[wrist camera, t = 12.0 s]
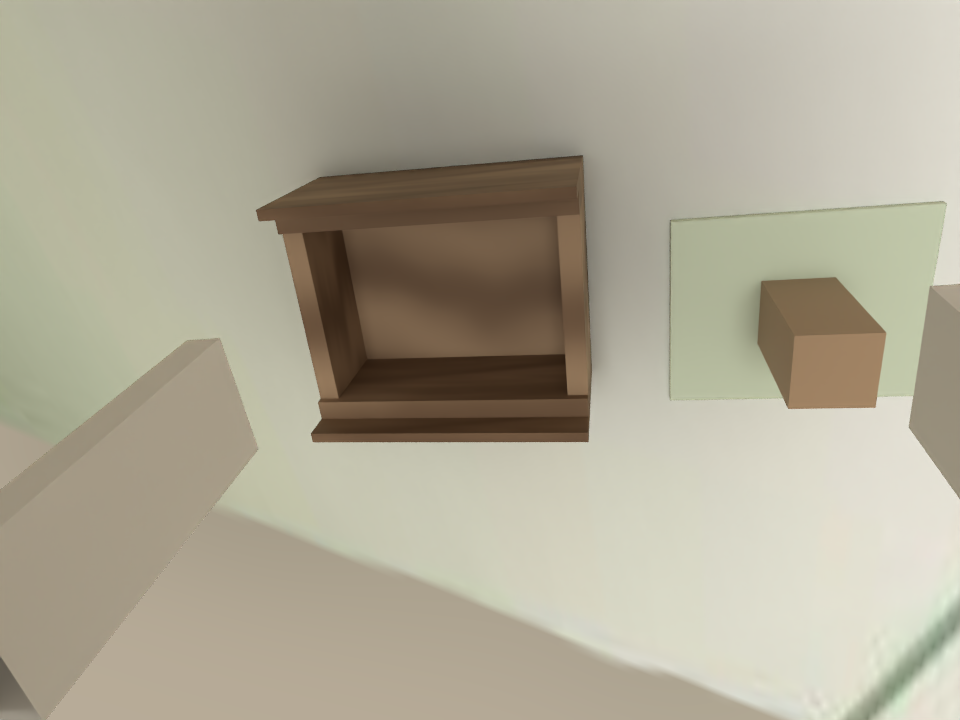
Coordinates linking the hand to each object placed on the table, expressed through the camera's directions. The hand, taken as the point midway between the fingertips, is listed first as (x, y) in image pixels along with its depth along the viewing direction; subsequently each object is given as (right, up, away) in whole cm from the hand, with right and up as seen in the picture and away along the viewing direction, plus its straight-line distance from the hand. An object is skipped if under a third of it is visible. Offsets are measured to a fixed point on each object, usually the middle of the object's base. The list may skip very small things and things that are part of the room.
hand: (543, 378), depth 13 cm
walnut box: (-2, +5, +25) cm, 25 cm away
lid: (+15, +3, +23) cm, 27 cm away
